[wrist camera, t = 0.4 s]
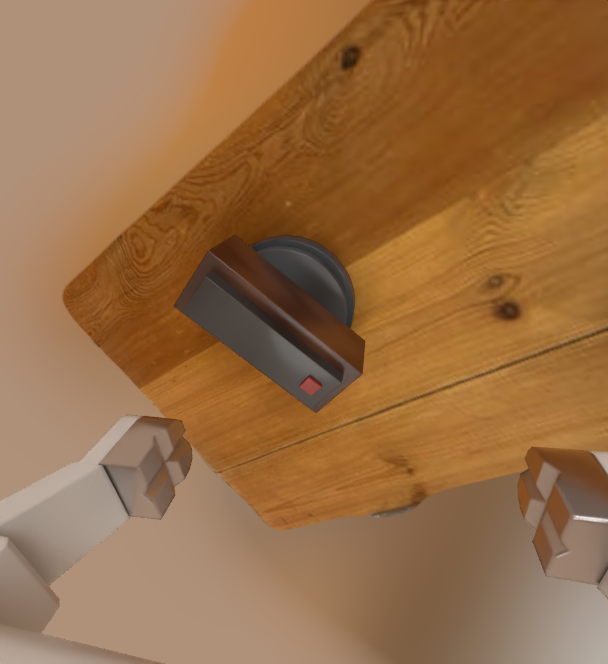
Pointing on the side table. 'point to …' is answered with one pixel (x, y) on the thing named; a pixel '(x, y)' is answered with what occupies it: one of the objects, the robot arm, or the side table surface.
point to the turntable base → (320, 253)
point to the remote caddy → (278, 316)
